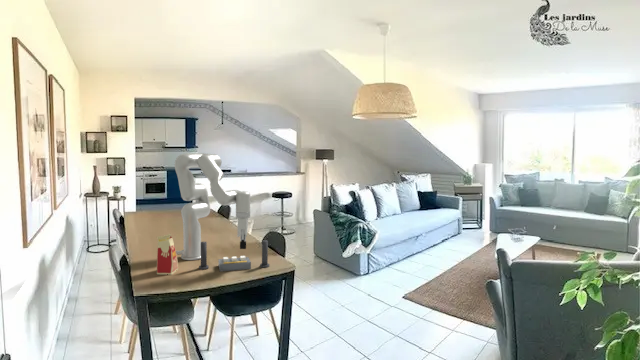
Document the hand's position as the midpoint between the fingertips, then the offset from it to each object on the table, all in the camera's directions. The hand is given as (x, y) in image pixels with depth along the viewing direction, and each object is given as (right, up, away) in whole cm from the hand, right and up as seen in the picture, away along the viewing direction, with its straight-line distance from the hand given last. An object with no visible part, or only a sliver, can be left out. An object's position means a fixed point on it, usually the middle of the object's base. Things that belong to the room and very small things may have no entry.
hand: (243, 248), depth 213 cm
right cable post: (+11, -10, +3) cm, 15 cm away
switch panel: (-5, -11, 0) cm, 11 cm away
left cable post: (-20, -10, -2) cm, 23 cm away
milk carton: (-38, -11, -9) cm, 40 cm away
